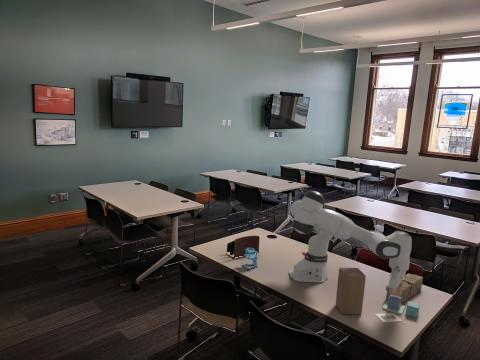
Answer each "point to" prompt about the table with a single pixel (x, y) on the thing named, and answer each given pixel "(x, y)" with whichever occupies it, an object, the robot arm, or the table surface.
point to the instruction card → (388, 317)
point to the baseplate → (394, 305)
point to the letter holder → (243, 245)
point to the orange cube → (399, 290)
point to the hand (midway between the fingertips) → (395, 290)
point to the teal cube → (412, 309)
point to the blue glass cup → (251, 257)
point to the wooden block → (350, 290)
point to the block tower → (408, 286)
